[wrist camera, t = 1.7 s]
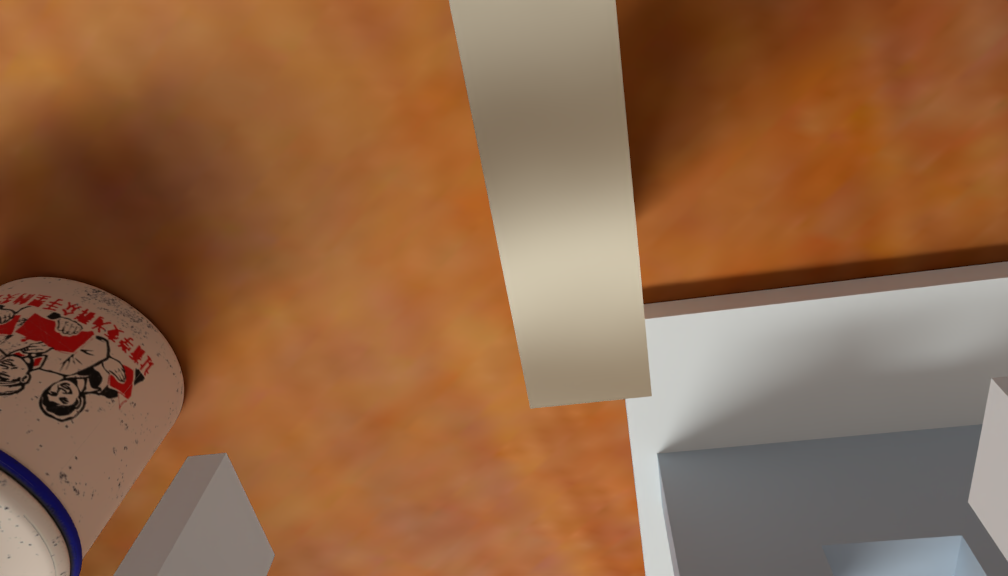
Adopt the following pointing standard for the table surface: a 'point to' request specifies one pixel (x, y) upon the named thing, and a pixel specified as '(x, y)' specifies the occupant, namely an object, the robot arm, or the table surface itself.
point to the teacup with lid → (74, 417)
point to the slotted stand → (820, 427)
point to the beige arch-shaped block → (559, 191)
